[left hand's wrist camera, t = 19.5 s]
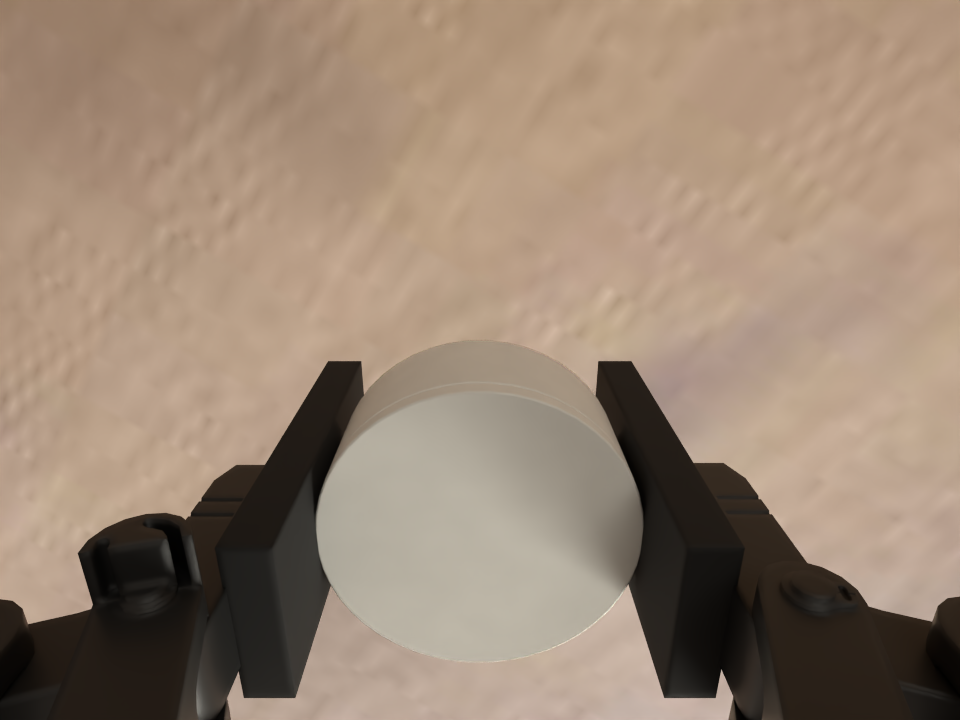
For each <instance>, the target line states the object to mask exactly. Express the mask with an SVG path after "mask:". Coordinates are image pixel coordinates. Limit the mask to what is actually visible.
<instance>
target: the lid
mask: <svg viewBox="0 0 960 720" xmlns="http://www.w3.org/2000/svg"><path fill="white" fill-rule="evenodd" d="M315 522H316V534H317V542H318V550H319V557H320V561H321V564H322V568H323V570H324V572H325V574H326V576H327V578H328V581H329V583H330V585H331V586H332V588H333V589H334V591H335V592H336V594H337V595H338V597H339V598H340V600H341V601H342V602H343V603H344V604H345V605H346V607H347V608H348V609H349V610H350V611H351V612H352V613H353V614H354V615H355V616H356V617H357V618H358V619H359V620H360V621H362V622H363V623H364V624H365V625H366V626H368V627H369V628H371V629H372V630H373V631H375V632H376V633H378V634H379V635H381V636H382V637H384V638H386V639H388V640H390V641H391V642H393V643H395V644H397V645H399V646H402V647H404V648H407V649H409V650H412V651H414V652H417V653H421V654H424V655H427V656H431V657H435V658H440V659H445V660H450V661H460V662H498V661H507V660H513V659H518V658H523V657H528V656H531V655H534V654H538V653H541V652H544V651H547V650H549V649H552V648H554V647H556V646H559V645H561V644H563V643H565V642H567V641H569V640H571V639H572V638H574V637H576V636H578V635H579V634H581V633H582V632H584V631H585V630H586V629H588V628H589V627H591V626H592V625H593V624H595V623H596V622H597V621H598V620H599V619H600V618H601V617H602V616H603V615H604V614H606V613H607V612H608V611H609V610H610V609H611V607H612V606H613V605H614V604H615V602H616V601H617V600H618V599H619V598H620V596H621V595H622V593H623V592H624V590H625V588H626V587H627V585H628V584H629V582H630V580H631V578H632V576H633V573H634V571H635V569H636V566H637V564H638V560H639V556H640V552H641V544H642V535H643V526H644V519H643V508H642V504H641V499H640V494H639V491H638V489H637V486H636V483H635V481H634V478H633V476H632V473H631V471H630V469H629V467H628V464H627V462H626V459H625V457H624V455H623V452H622V450H621V448H620V445H619V443H618V441H617V438H616V436H615V434H614V431H613V429H612V427H611V424H610V422H609V420H608V417H607V415H606V413H605V411H604V409H603V407H602V406H601V404H600V402H599V400H598V399H597V398H596V396H595V395H594V394H593V392H592V391H591V390H590V389H589V387H588V386H587V385H586V384H585V383H584V382H583V381H582V380H581V379H580V378H579V377H578V376H577V375H576V374H575V373H573V372H572V371H571V370H569V369H568V368H566V367H565V366H564V365H562V364H561V363H559V362H558V361H556V360H554V359H552V358H550V357H548V356H546V355H545V354H542V353H540V352H537V351H535V350H532V349H529V348H527V347H523V346H519V345H515V344H511V343H506V342H498V341H489V340H470V341H461V342H453V343H447V344H444V345H440V346H436V347H432V348H429V349H427V350H424V351H422V352H419V353H417V354H414V355H412V356H410V357H409V358H407V359H405V360H403V361H401V362H400V363H398V364H396V365H395V366H394V367H392V368H391V369H390V370H388V371H387V372H386V373H384V374H383V375H382V376H381V377H380V378H379V379H378V380H377V381H376V382H375V383H374V384H373V385H372V386H371V387H370V388H369V389H368V391H367V392H366V393H365V395H364V396H363V397H362V399H361V400H360V401H359V403H358V405H357V407H356V409H355V410H354V412H353V414H352V416H351V418H350V421H349V423H348V426H347V428H346V430H345V433H344V435H343V437H342V440H341V442H340V445H339V447H338V449H337V452H336V454H335V457H334V459H333V461H332V464H331V466H330V469H329V471H328V473H327V476H326V478H325V481H324V484H323V486H322V489H321V492H320V495H319V498H318V504H317V509H316V514H315Z"/></svg>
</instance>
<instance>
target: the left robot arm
mask: <svg viewBox="0 0 960 720" xmlns="http://www.w3.org/2000/svg"><path fill="white" fill-rule="evenodd" d="M363 396H364V392H363V379H362V366H361V361H328V363H327V364H326V366H325V367H324V369H323V371H322V372H321V374H320V376H319V377H318V379H317V381H316V382H315V384H314V386H313V387H312V389H311V390H310V392H309V394H308V395H307V397H306V399H305V400H304V402H303V404H302V405H301V407H300V408H299V410H298V412H297V413H296V415H295V417H294V418H293V420H292V422H291V423H290V425H289V426H288V428H287V430H286V431H285V433H284V435H283V436H282V438H281V440H280V441H279V443H278V445H277V446H276V448H275V449H274V451H273V453H272V454H271V456H270V458H269V459H268V461H267V463H266V464H265V465H236V466H234V467H233V468H232V469H230V470H229V471H227V472H226V473H224V474H223V475H221V476H220V477H218V478H217V479H216V480H214V482H213V483H212V484H211V486H210V487H209V489H208V490H207V491H206V493H205V494H204V495H203V497H202V501H201V502H198V504H197V505H196V507H195V508H194V509H193V511H192V512H191V517H188V518H187V519H186V520H185V519H184V518H182V517H181V516H177V515H172V514H168V513H157V514H145V515H141V516H136V517H132V518H128V519H125V520H123V521H120V522H118V523H116V524H114V525H111V526H109V527H107V528H105V529H103V530H102V531H100V532H99V533H98V534H96V535H95V536H93V537H92V538H90V539H89V540H88V541H87V542H86V544H85V545H84V546H83V547H82V549H81V550H80V551H79V552H78V556H79V559H80V562H81V566H82V569H83V572H84V576H85V579H86V582H87V586H88V589H89V592H90V596H91V599H92V602H93V606H92V609H90V610H87V611H83V612H80V613H77V614H72V615H68V616H63V617H59V618H54V619H50V620H45V621H41V622H37V623H32V624H28V623H27V620H26V618H25V615H24V612H23V609H22V608H21V607H20V606H18V605H17V604H16V603H15V602H13V601H9V600H1V599H0V720H231V718H230V711H229V706H228V701H227V697H228V694H229V692H230V690H231V687H232V685H233V683H234V680H235V678H236V676H237V673H238V671H239V675H240V680H241V685H242V690H243V695H244V698H295V697H296V694H297V691H298V688H299V684H300V681H301V678H302V675H303V672H304V668H305V665H306V662H307V659H308V656H309V653H310V649H311V646H312V643H313V640H314V637H315V634H316V630H317V627H318V624H319V621H320V618H321V615H322V611H323V608H324V605H325V602H326V599H327V596H328V592H329V589H330V586H331V585H330V583H329V581H328V578H327V576H326V574H325V572H324V570H323V568H322V564H321V561H320V557H319V550H318V542H317V534H316V522H315V514H316V509H317V504H318V498H319V495H320V492H321V489H322V486H323V484H324V481H325V478H326V476H327V473H328V471H329V469H330V466H331V464H332V461H333V459H334V457H335V454H336V452H337V449H338V447H339V445H340V442H341V440H342V437H343V435H344V433H345V430H346V428H347V426H348V423H349V421H350V418H351V416H352V414H353V412H354V410H355V409H356V407H357V405H358V403H359V401H360V400H361V399H362V397H363ZM596 398H597V399H598V400H599V402H600V404H601V406H602V407H603V409H604V411H605V413H606V415H607V417H608V420H609V422H610V424H611V427H612V429H613V431H614V434H615V436H616V438H617V441H618V443H619V445H620V448H621V450H622V452H623V455H624V457H625V459H626V462H627V464H628V467H629V469H630V471H631V473H632V476H633V478H634V481H635V483H636V486H637V489H638V491H639V494H640V499H641V504H642V508H643V519H644V526H643V535H642V544H641V552H640V556H639V560H638V564H637V566H636V569H635V571H634V573H633V576H632V578H631V580H630V582H629V587H630V590H631V594H632V597H633V600H634V603H635V606H636V609H637V613H638V616H639V619H640V622H641V625H642V628H643V632H644V635H645V638H646V641H647V644H648V647H649V651H650V654H651V657H652V660H653V663H654V667H655V670H656V673H657V676H658V679H659V682H660V686H661V689H662V692H663V695H664V698H716V693H717V688H718V683H719V678H720V673H721V669H722V671H723V674H724V676H725V678H726V681H727V683H728V685H729V687H730V690H731V692H732V694H733V701H732V706H731V711H730V715H729V720H960V597H954V598H947V599H946V600H945V601H944V602H942V603H941V604H940V605H939V606H938V608H937V610H936V613H935V616H934V619H933V622H931V621H926V620H922V619H917V618H913V617H908V616H904V615H899V614H895V613H890V612H886V611H882V610H878V609H875V608H872V607H868V605H867V603H866V602H865V600H864V599H863V597H862V596H861V594H860V593H859V591H858V590H857V589H856V588H855V587H853V586H852V585H851V584H850V583H848V582H847V581H846V580H845V579H843V578H842V577H840V576H838V575H836V574H834V573H833V572H831V571H829V570H827V569H825V568H823V567H819V566H816V565H812V564H808V563H807V562H806V561H805V559H804V558H803V557H802V555H801V554H800V553H799V551H798V550H797V548H796V547H795V546H794V544H793V543H792V542H791V540H790V539H789V537H788V536H787V535H786V533H785V532H784V531H783V529H782V528H781V526H780V525H779V524H778V522H777V521H776V520H775V518H774V517H773V515H772V514H769V510H768V509H767V507H766V506H765V504H764V503H763V502H762V500H761V499H758V495H757V493H756V492H755V491H754V489H753V488H752V487H751V485H750V484H749V482H748V481H747V480H746V478H744V477H743V476H741V475H740V474H739V473H737V472H736V471H734V470H733V469H731V468H730V467H728V466H727V465H725V464H724V463H693V462H692V460H691V458H690V457H689V455H688V453H687V452H686V450H685V448H684V447H683V445H682V444H681V442H680V440H679V439H678V437H677V435H676V434H675V432H674V430H673V429H672V427H671V426H670V424H669V422H668V421H667V419H666V417H665V416H664V414H663V412H662V411H661V409H660V407H659V406H658V404H657V403H656V401H655V399H654V398H653V396H652V394H651V393H650V391H649V389H648V388H647V386H646V385H645V383H644V381H643V380H642V378H641V376H640V375H639V373H638V371H637V370H636V368H635V367H634V365H633V363H632V362H631V361H598V374H597V387H596Z"/></svg>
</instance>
